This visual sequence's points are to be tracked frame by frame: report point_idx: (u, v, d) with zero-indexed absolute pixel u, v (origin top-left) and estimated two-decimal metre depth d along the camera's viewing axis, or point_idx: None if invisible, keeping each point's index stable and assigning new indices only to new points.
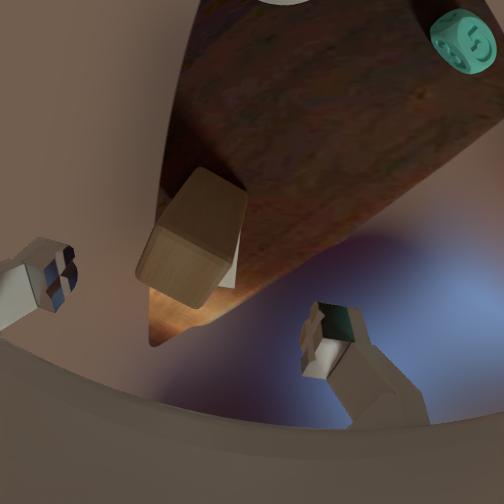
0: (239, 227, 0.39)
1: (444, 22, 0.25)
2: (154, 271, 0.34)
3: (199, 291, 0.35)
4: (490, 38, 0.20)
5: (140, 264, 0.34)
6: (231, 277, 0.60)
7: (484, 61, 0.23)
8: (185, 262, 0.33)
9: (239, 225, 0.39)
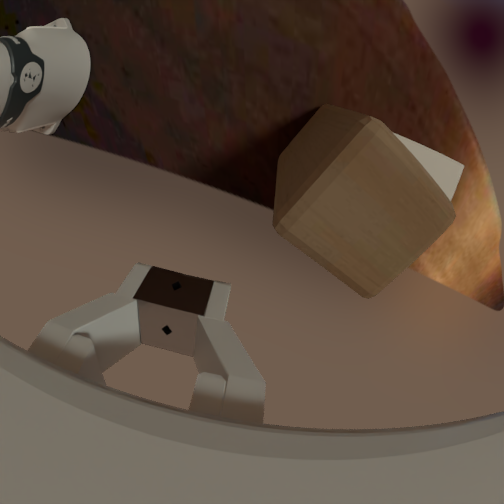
0: (343, 109, 0.21)
1: None
2: (362, 263, 0.19)
3: (420, 197, 0.16)
4: None
5: (345, 281, 0.20)
6: (448, 163, 0.33)
7: None
8: (354, 201, 0.17)
9: (341, 109, 0.21)
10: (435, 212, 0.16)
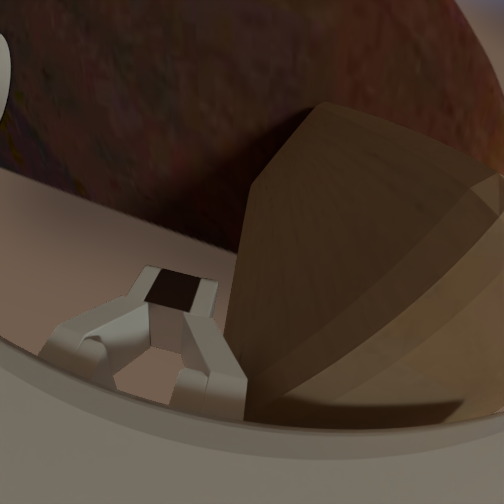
0: (371, 118, 0.10)
1: None
2: None
3: None
4: None
5: None
6: None
7: None
8: (405, 403, 0.06)
9: (366, 118, 0.10)
10: None
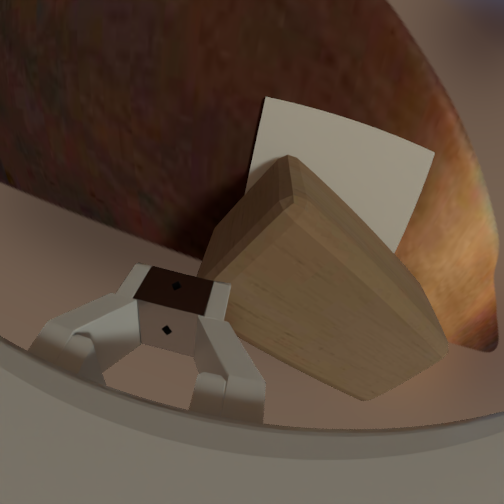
0: (412, 316, 0.17)
1: None
2: None
3: None
4: None
5: None
6: (405, 149, 0.21)
7: None
8: None
9: (409, 315, 0.17)
10: None
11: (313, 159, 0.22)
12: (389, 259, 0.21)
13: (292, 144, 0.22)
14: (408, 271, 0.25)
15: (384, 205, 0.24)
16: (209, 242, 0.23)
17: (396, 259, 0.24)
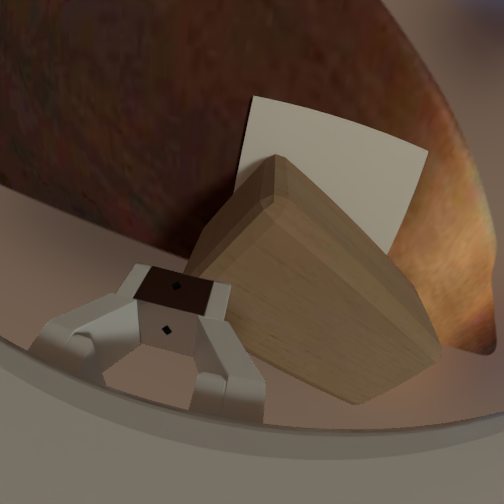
0: (402, 320, 0.17)
1: None
2: None
3: None
4: None
5: None
6: (397, 147, 0.21)
7: None
8: None
9: (398, 318, 0.17)
10: None
11: (302, 158, 0.22)
12: (380, 261, 0.21)
13: (280, 143, 0.21)
14: (401, 273, 0.25)
15: (376, 205, 0.23)
16: None
17: (388, 261, 0.23)
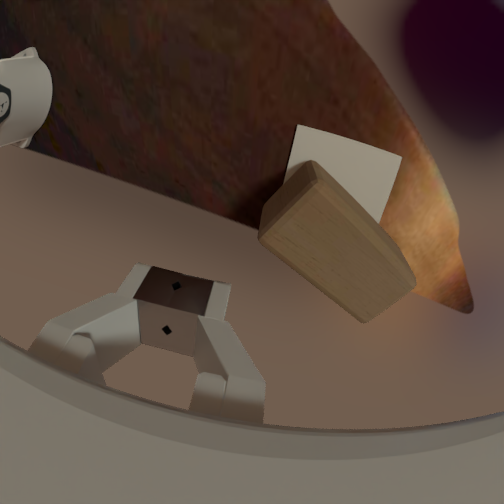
0: (385, 250, 0.31)
1: None
2: None
3: None
4: None
5: None
6: (382, 155, 0.35)
7: None
8: None
9: (383, 249, 0.31)
10: None
11: (325, 162, 0.37)
12: (372, 222, 0.35)
13: (313, 153, 0.36)
14: (388, 235, 0.39)
15: (370, 191, 0.38)
16: (263, 211, 0.37)
17: (378, 225, 0.38)
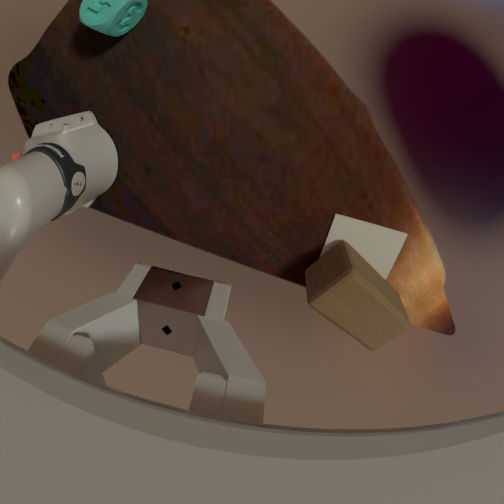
0: (390, 308, 0.46)
1: None
2: None
3: None
4: None
5: None
6: (393, 234, 0.49)
7: None
8: None
9: (389, 307, 0.46)
10: None
11: (352, 240, 0.51)
12: (382, 284, 0.49)
13: (344, 234, 0.50)
14: (392, 288, 0.54)
15: (382, 258, 0.52)
16: (307, 277, 0.51)
17: (386, 283, 0.52)
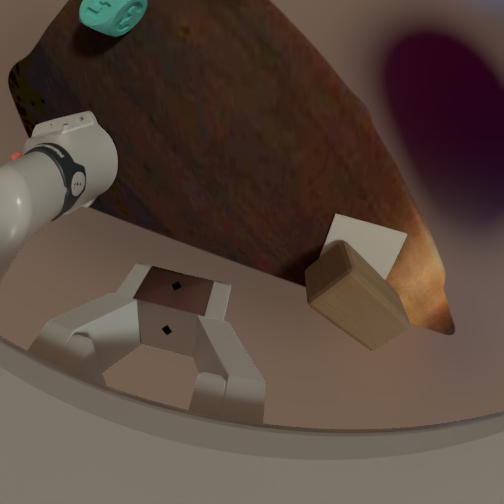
0: (390, 308, 0.46)
1: None
2: None
3: None
4: None
5: None
6: (393, 234, 0.49)
7: None
8: None
9: (389, 307, 0.46)
10: None
11: (352, 240, 0.51)
12: (382, 284, 0.49)
13: (344, 234, 0.50)
14: (391, 288, 0.54)
15: (381, 258, 0.52)
16: (307, 277, 0.51)
17: (385, 283, 0.52)
